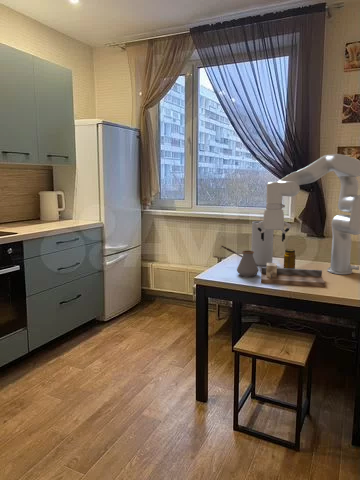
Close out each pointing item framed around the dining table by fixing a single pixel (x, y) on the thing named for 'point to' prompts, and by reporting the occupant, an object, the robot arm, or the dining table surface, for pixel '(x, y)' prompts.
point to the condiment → (289, 259)
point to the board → (294, 277)
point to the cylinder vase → (262, 245)
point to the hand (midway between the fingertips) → (272, 240)
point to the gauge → (271, 270)
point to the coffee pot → (246, 263)
